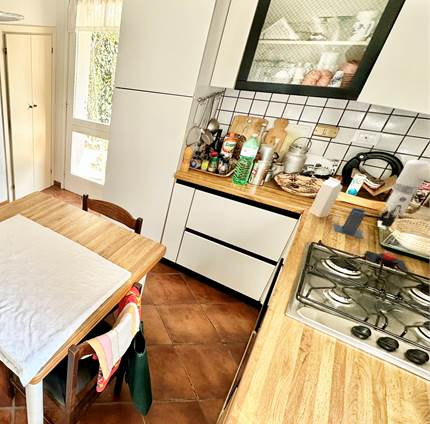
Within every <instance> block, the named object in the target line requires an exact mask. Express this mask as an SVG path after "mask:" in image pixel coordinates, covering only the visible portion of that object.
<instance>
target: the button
mask: <svg viewBox="0 0 430 424" xmlns="http://www.w3.org/2000/svg"><path fill="white" fill-rule="evenodd" d="M383 253H384V255H383V257H384V258H385V259H387V260H391V261H394V260H395V258H397V256H396V255H395V254H393V253H391V252H383Z"/></svg>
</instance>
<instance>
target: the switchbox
mask: <svg viewBox="0 0 430 424" xmlns="http://www.w3.org/2000/svg"><path fill="white" fill-rule="evenodd" d="M384 253H385V252H379V253H377V252H373V251H369V250H366V251H365V253H364V254H363V256H364V258H365V257H366V258H367V260H368V261H370V262H373V263H378V262H379V260H381V259H382V260H383V264H384V266H386V267H390V268H393V266H394V265H395V264H397V265H398V267H399V268H400V269H402V270H403V271H405V272H408V273H409V271H408V268H407V266H406V263H405V260H402V259H399V258H397V257H396V258H395V260H394V261H391V260H387V259H385V258H384V257H383V255H384Z"/></svg>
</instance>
